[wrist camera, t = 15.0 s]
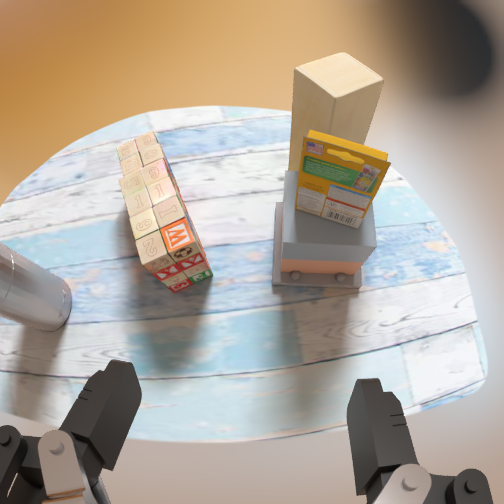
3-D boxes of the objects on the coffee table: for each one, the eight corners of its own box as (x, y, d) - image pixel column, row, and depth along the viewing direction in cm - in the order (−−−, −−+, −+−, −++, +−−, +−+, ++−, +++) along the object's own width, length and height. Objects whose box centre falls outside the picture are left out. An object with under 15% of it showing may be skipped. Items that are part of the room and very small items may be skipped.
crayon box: (363, 207, 33) (395, 139, 22) (358, 229, 32) (392, 165, 22) (301, 187, 35) (311, 112, 24) (293, 209, 34) (302, 137, 23)
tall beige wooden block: (322, 152, 50) (340, 47, 30) (351, 182, 47) (386, 80, 28) (284, 173, 49) (288, 65, 29) (313, 206, 46) (335, 100, 27)
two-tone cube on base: (272, 284, 42) (272, 255, 32) (276, 206, 47) (276, 160, 36) (359, 288, 41) (386, 260, 31) (354, 210, 46) (374, 167, 35)
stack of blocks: (136, 180, 50) (108, 133, 39) (170, 165, 51) (148, 115, 39) (174, 294, 43) (140, 265, 31) (215, 276, 43) (195, 240, 32)
